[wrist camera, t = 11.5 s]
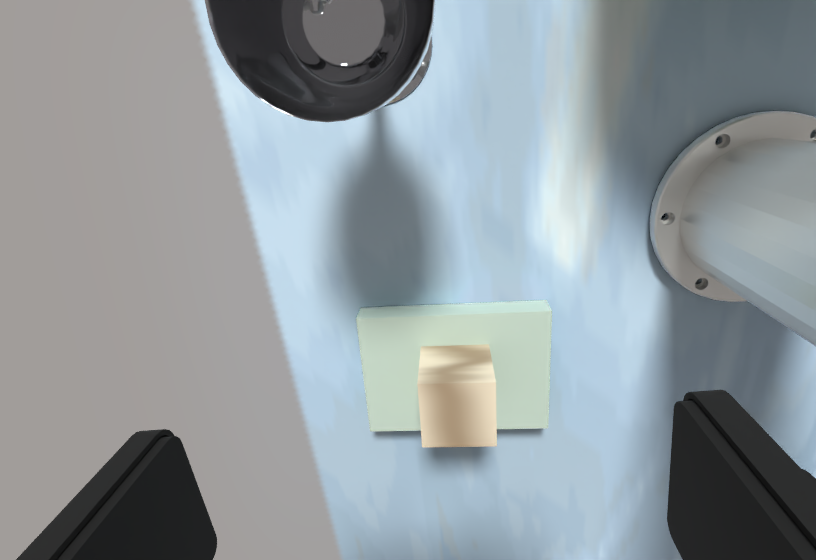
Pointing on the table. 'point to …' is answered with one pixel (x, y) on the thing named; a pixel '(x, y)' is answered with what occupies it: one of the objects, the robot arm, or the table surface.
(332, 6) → the wine glass
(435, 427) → the birch cube
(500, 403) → the sage board
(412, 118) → the table surface
